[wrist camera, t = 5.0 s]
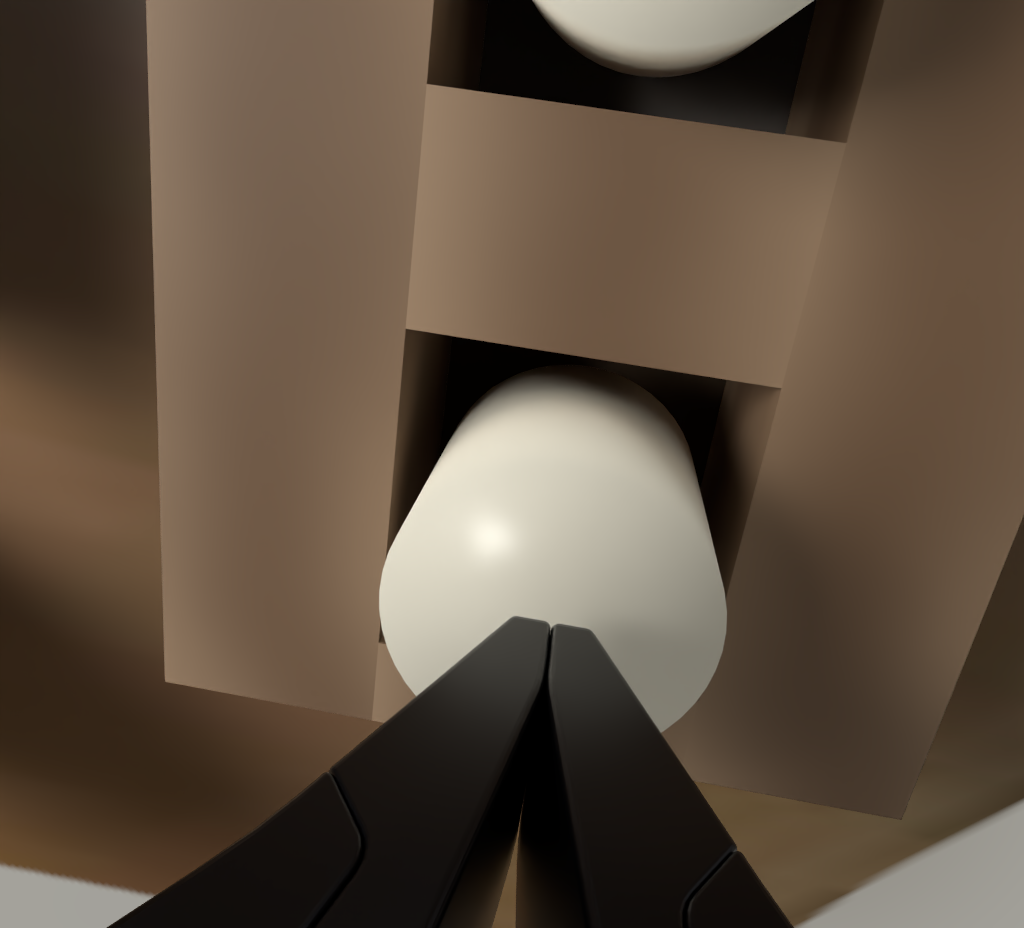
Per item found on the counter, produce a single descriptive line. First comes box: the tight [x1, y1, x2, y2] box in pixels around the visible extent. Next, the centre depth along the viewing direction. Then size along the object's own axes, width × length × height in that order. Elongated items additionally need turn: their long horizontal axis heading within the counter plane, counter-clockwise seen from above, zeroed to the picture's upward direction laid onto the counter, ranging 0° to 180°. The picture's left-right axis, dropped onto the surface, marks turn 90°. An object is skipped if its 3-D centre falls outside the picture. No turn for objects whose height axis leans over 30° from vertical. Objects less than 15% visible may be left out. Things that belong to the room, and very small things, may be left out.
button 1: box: [379, 365, 727, 732], centre depth 11 cm, size 4×4×4 cm
